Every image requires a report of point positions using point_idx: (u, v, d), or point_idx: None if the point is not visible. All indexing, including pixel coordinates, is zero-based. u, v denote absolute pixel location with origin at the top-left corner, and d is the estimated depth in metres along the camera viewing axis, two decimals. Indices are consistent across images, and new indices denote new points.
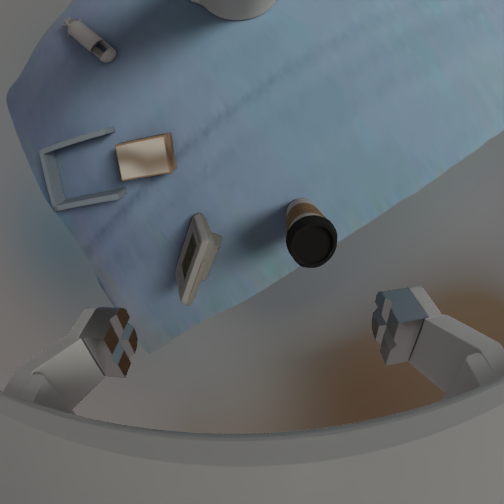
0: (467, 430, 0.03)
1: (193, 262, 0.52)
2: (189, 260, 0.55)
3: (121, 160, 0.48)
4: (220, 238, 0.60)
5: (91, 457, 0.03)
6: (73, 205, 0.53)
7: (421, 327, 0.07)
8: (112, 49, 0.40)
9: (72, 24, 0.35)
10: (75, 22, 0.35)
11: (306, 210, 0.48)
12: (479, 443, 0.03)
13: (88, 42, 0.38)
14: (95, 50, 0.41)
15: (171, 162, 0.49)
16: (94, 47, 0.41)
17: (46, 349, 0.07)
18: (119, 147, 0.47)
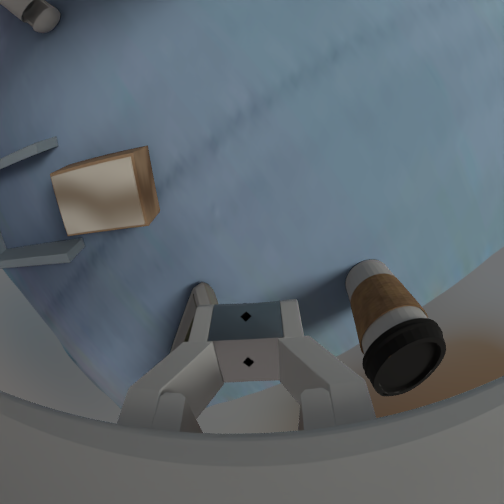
0: (467, 430, 0.03)
1: None
2: None
3: (62, 201, 0.25)
4: None
5: (91, 457, 0.03)
6: (11, 264, 0.30)
7: (278, 347, 0.07)
8: (52, 9, 0.17)
9: None
10: None
11: (397, 299, 0.25)
12: (479, 443, 0.03)
13: (18, 7, 0.14)
14: (32, 18, 0.18)
15: (148, 204, 0.26)
16: (31, 14, 0.17)
17: (166, 360, 0.06)
18: (56, 178, 0.23)
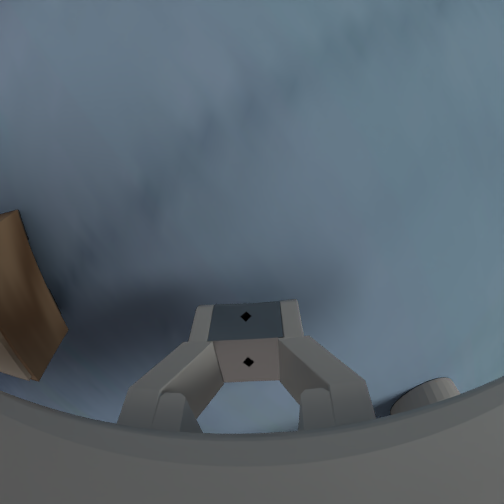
0: (467, 430, 0.03)
1: None
2: None
3: None
4: None
5: (91, 457, 0.03)
6: None
7: (278, 347, 0.07)
8: None
9: None
10: None
11: None
12: (479, 443, 0.03)
13: None
14: None
15: (29, 339, 0.10)
16: None
17: (166, 359, 0.06)
18: None
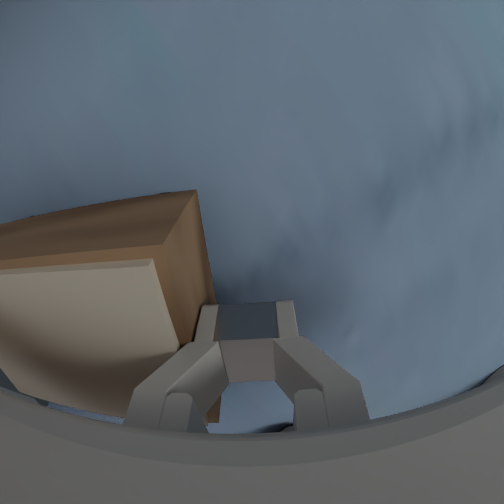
0: (467, 430, 0.03)
1: None
2: None
3: None
4: None
5: (91, 457, 0.03)
6: None
7: (273, 347, 0.07)
8: None
9: None
10: None
11: None
12: (479, 443, 0.03)
13: None
14: None
15: None
16: None
17: (171, 360, 0.06)
18: None
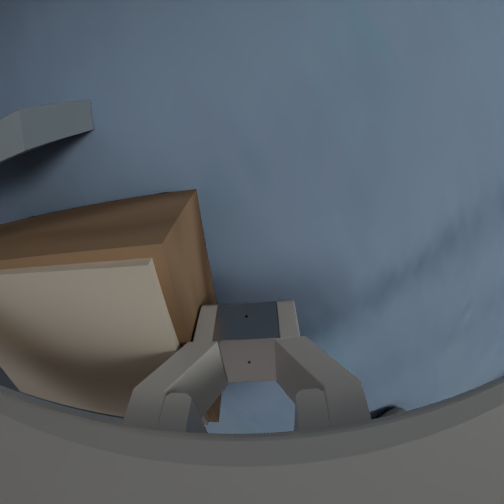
0: (467, 430, 0.03)
1: None
2: None
3: None
4: None
5: (91, 457, 0.03)
6: (3, 390, 0.12)
7: (274, 347, 0.07)
8: None
9: None
10: None
11: None
12: (479, 443, 0.03)
13: None
14: None
15: None
16: None
17: (171, 360, 0.06)
18: None
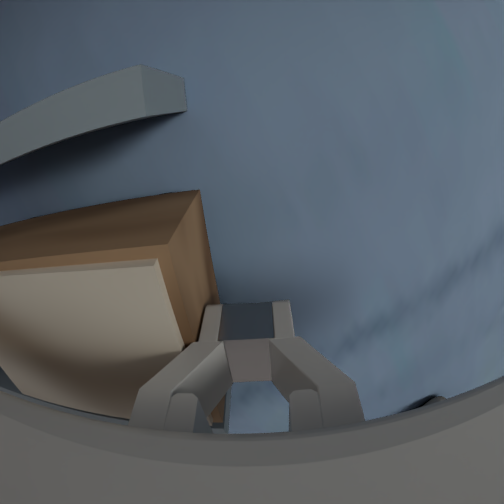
0: (467, 430, 0.03)
1: None
2: None
3: None
4: None
5: (91, 457, 0.03)
6: None
7: (269, 347, 0.07)
8: None
9: None
10: None
11: None
12: (479, 443, 0.03)
13: None
14: None
15: None
16: None
17: (176, 360, 0.06)
18: None
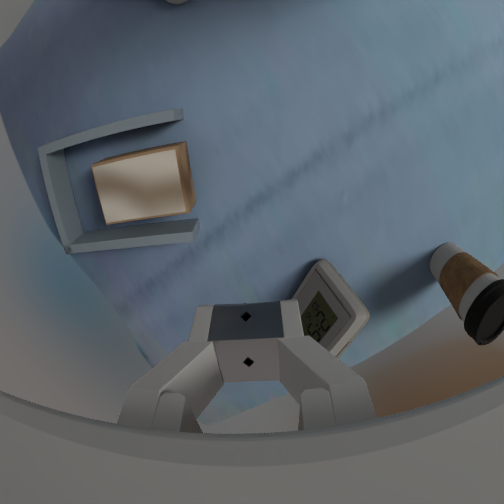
0: (467, 430, 0.03)
1: (330, 344, 0.31)
2: (314, 336, 0.34)
3: (102, 191, 0.28)
4: None
5: (91, 457, 0.03)
6: (102, 246, 0.32)
7: (277, 347, 0.07)
8: None
9: None
10: None
11: (482, 268, 0.28)
12: (479, 443, 0.03)
13: None
14: None
15: (188, 193, 0.29)
16: None
17: (166, 360, 0.06)
18: (98, 168, 0.27)
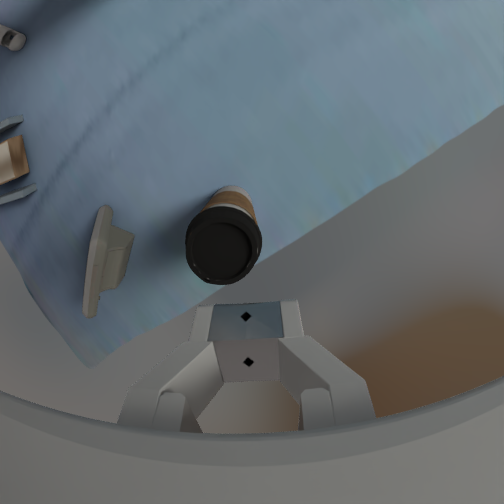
0: (467, 430, 0.03)
1: (86, 267, 0.37)
2: None
3: None
4: (131, 237, 0.44)
5: (91, 457, 0.03)
6: None
7: (277, 347, 0.07)
8: (20, 34, 0.25)
9: None
10: None
11: (220, 200, 0.33)
12: (479, 443, 0.03)
13: None
14: (8, 43, 0.26)
15: (17, 166, 0.35)
16: (8, 41, 0.26)
17: (166, 360, 0.06)
18: None
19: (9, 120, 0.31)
